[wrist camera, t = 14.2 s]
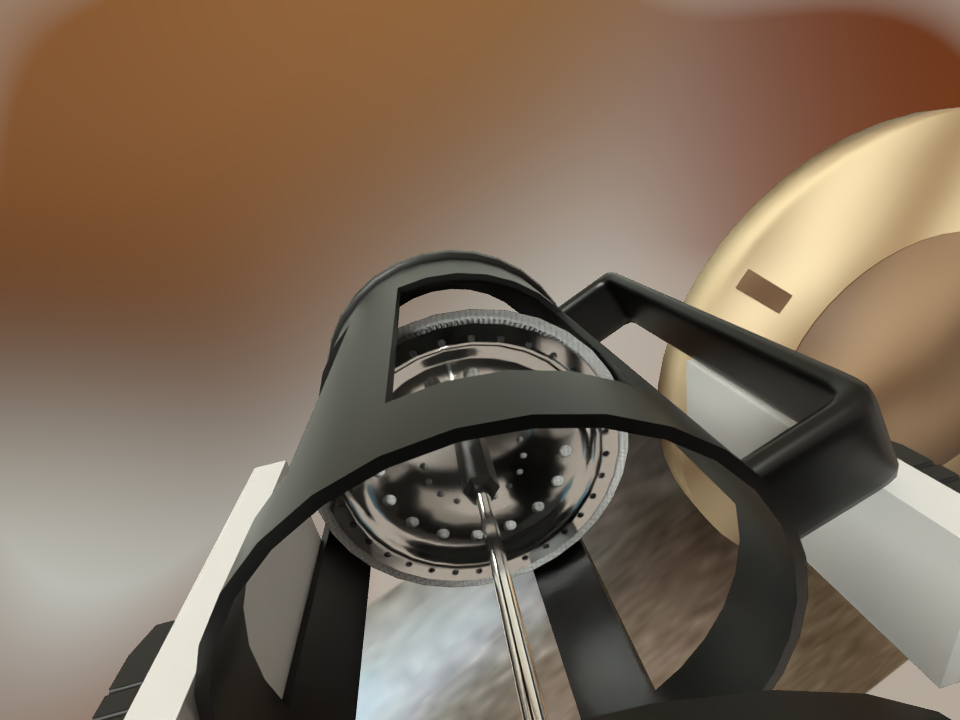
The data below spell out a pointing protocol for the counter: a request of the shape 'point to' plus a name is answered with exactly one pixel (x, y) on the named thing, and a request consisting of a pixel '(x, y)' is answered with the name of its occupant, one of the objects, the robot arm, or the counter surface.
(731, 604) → the french press
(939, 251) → the turntable
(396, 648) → the counter surface
